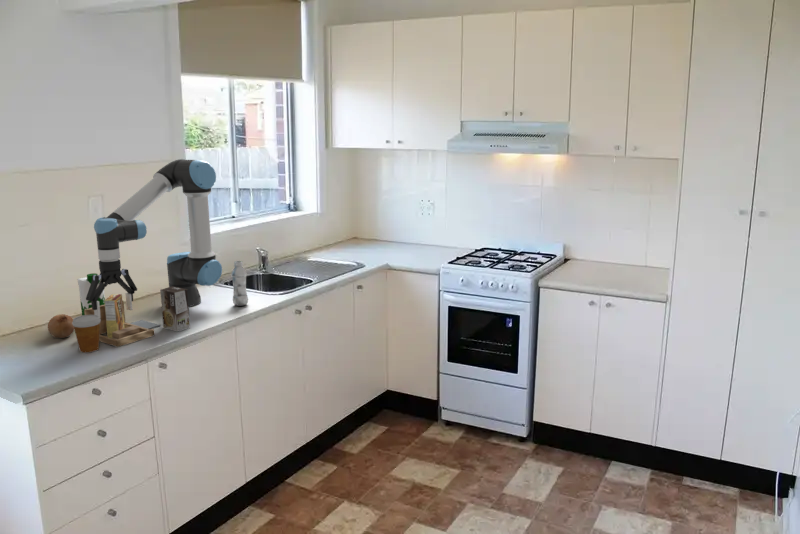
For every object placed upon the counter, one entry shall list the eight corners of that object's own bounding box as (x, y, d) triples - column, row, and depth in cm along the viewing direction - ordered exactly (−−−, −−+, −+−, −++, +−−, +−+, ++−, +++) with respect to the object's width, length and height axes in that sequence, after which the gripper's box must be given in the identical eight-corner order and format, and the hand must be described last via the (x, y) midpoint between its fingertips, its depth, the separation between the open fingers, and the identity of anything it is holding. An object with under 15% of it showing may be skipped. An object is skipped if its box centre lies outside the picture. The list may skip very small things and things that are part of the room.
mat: (142, 321, 281) (141, 319, 281) (160, 326, 275) (160, 324, 275) (124, 326, 275) (124, 324, 275) (143, 331, 268) (143, 330, 268)
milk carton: (88, 325, 276) (83, 277, 271) (79, 320, 282) (74, 273, 278) (109, 320, 282) (105, 273, 278) (100, 316, 288) (95, 270, 284)
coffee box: (190, 327, 273) (187, 289, 269) (177, 332, 268) (174, 292, 264) (176, 323, 278) (173, 285, 274) (162, 327, 273) (159, 289, 269)
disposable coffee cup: (71, 349, 248) (67, 318, 245) (97, 343, 254) (94, 312, 252) (80, 356, 241) (77, 323, 239) (107, 349, 248) (104, 318, 245)
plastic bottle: (249, 306, 303) (247, 262, 298) (234, 308, 300) (231, 264, 296) (247, 302, 308) (245, 259, 304) (231, 304, 306) (229, 261, 302)
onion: (69, 345, 261) (71, 326, 256) (43, 341, 258) (44, 321, 253) (77, 330, 268) (79, 310, 263) (51, 325, 266) (53, 305, 261)
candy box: (114, 331, 268) (110, 294, 265) (125, 331, 269) (122, 293, 265) (107, 338, 260) (103, 300, 256) (118, 338, 260) (115, 299, 256)
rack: (124, 326, 274) (121, 300, 272) (154, 335, 264) (152, 308, 261) (87, 337, 261) (84, 309, 259) (117, 346, 251) (114, 318, 248)
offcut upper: (132, 331, 263) (132, 326, 262) (139, 333, 261) (139, 327, 260) (112, 337, 255) (112, 332, 255) (119, 339, 253) (118, 334, 253)
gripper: (132, 253, 269) (136, 305, 274) (72, 263, 249) (77, 319, 254) (144, 255, 265) (147, 308, 270) (84, 266, 245) (89, 322, 250)
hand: (113, 313), depth 262 cm, fingers open, 13 cm apart
